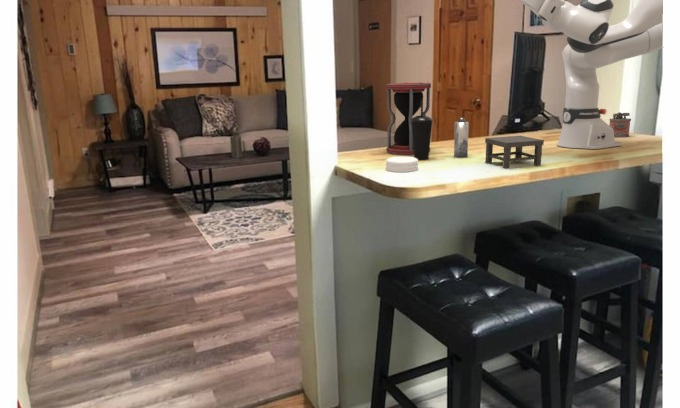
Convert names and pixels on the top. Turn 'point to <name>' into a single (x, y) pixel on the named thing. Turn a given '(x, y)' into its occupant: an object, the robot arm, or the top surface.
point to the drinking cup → (421, 135)
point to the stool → (518, 143)
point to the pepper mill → (461, 138)
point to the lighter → (620, 125)
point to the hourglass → (405, 114)
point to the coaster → (401, 164)
